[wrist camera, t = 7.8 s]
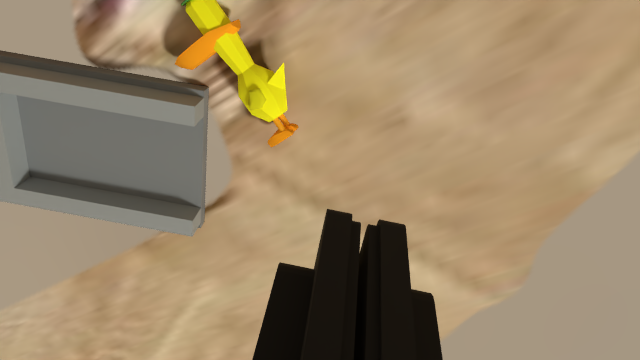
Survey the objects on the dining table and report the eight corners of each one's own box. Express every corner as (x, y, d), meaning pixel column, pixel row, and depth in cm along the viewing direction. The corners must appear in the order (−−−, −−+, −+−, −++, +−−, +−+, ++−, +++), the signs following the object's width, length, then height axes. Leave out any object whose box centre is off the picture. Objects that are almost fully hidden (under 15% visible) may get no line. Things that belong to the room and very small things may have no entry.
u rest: (-1, 50, 36) (-31, 60, 33) (208, 86, 36) (194, 99, 33) (24, 188, 42) (-1, 206, 39) (204, 221, 41) (192, 241, 39)
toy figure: (240, 168, 35) (129, 22, 31) (257, 148, 38) (159, 13, 35) (313, 125, 32) (199, -41, 28) (326, 107, 35) (224, -45, 31)
